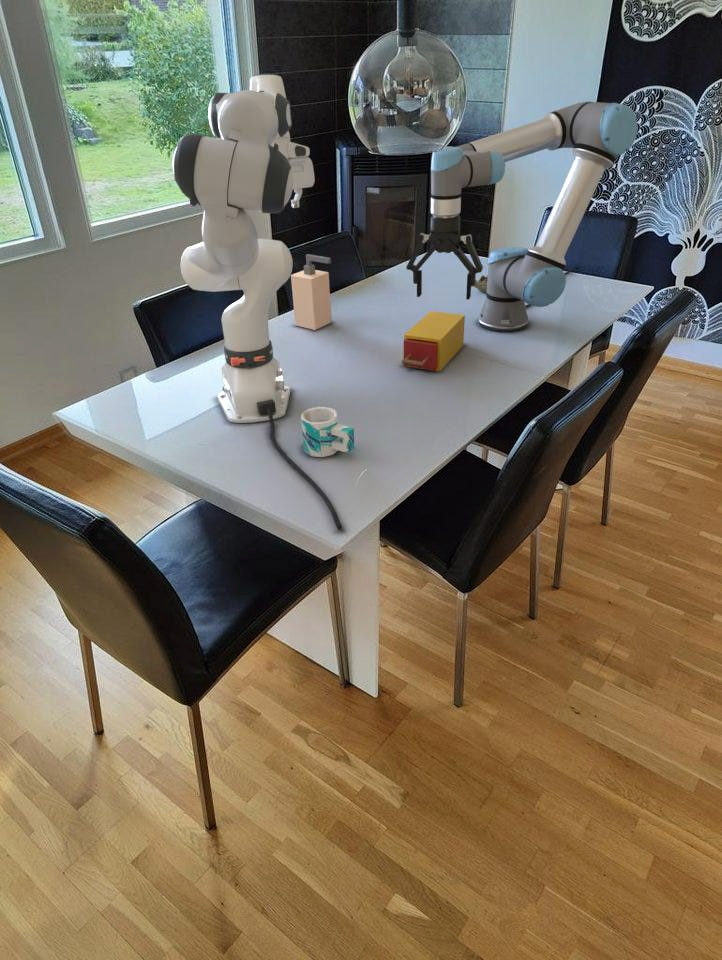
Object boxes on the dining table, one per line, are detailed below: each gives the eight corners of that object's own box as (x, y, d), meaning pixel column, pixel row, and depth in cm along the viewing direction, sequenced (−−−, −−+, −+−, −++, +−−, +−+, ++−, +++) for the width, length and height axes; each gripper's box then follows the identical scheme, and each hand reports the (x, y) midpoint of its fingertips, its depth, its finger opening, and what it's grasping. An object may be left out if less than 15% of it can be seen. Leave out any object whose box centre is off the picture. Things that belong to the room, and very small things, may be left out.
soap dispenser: (294, 325, 217) (288, 256, 206) (311, 317, 223) (306, 249, 211) (325, 332, 211) (320, 261, 199) (342, 324, 217) (338, 255, 205)
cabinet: (439, 371, 183) (440, 339, 178) (404, 366, 187) (404, 334, 182) (463, 345, 199) (464, 315, 194) (429, 340, 203) (430, 311, 198)
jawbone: (458, 276, 240) (475, 251, 236) (488, 295, 247) (504, 271, 244) (468, 284, 232) (486, 259, 229) (499, 304, 240) (516, 280, 236)
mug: (318, 435, 155) (315, 403, 150) (361, 448, 149) (360, 415, 145) (296, 451, 149) (293, 418, 145) (340, 465, 143) (338, 431, 139)
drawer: (428, 378, 178) (429, 352, 174) (396, 372, 181) (395, 347, 177) (458, 345, 196) (459, 321, 192) (428, 341, 200) (428, 317, 196)
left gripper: (238, 155, 159) (245, 217, 166) (315, 147, 167) (319, 206, 175) (228, 153, 164) (236, 213, 171) (304, 145, 172) (308, 203, 179)
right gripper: (496, 212, 171) (491, 294, 183) (401, 210, 178) (402, 290, 189) (492, 219, 165) (487, 303, 177) (394, 217, 172) (395, 298, 183)
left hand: (278, 209), depth 173 cm, fingers open, 8 cm apart
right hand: (443, 296), depth 183 cm, fingers open, 13 cm apart
